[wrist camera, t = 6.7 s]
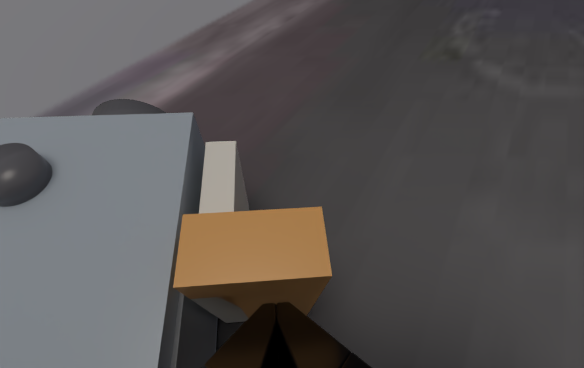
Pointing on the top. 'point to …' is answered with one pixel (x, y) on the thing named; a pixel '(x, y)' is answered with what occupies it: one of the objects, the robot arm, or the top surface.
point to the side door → (247, 247)
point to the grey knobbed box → (99, 240)
